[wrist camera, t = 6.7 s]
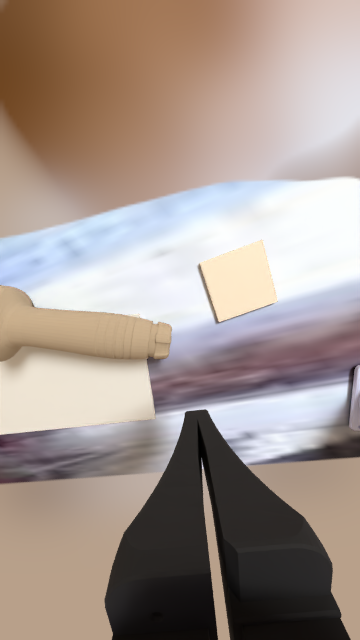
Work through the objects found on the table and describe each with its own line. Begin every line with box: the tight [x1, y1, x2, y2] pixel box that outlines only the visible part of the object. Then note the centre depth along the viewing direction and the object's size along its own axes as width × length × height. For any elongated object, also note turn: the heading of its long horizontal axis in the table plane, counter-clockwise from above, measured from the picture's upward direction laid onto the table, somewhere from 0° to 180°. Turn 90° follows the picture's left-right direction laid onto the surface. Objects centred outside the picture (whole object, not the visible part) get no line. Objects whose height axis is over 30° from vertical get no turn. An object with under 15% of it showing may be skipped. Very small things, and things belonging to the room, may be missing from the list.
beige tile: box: [199, 240, 278, 322], centre depth 18 cm, size 6×6×1 cm
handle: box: [0, 285, 172, 362], centre depth 16 cm, size 5×6×15 cm
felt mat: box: [0, 314, 156, 435], centre depth 19 cm, size 20×12×1 cm, turn 96°
